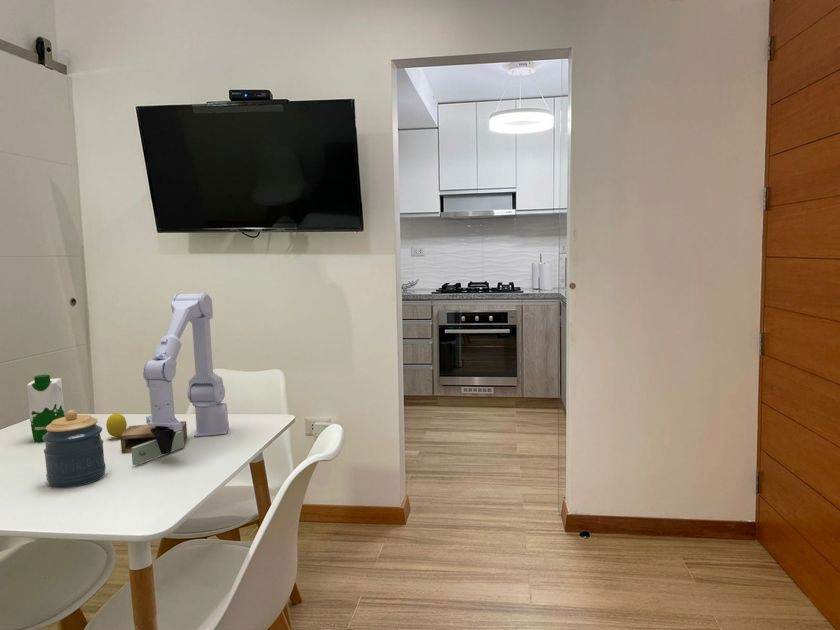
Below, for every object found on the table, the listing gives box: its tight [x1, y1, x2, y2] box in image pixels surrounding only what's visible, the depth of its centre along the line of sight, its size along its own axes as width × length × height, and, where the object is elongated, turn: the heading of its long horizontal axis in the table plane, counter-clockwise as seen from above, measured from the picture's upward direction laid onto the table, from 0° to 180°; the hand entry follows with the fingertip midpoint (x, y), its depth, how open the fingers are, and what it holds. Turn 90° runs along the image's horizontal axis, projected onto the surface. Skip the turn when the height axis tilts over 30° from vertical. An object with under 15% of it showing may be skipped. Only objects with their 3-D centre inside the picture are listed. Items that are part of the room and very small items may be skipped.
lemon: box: [105, 412, 128, 439], centre depth 184 cm, size 6×6×8 cm
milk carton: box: [26, 374, 66, 444], centre depth 186 cm, size 9×9×20 cm
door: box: [131, 431, 185, 466], centre depth 166 cm, size 16×2×5 cm, turn 153°
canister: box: [42, 409, 107, 489], centre depth 150 cm, size 13×13×18 cm
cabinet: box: [119, 420, 188, 454], centre depth 176 cm, size 16×10×5 cm, turn 103°
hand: (166, 452), depth 163 cm, fingers closed
